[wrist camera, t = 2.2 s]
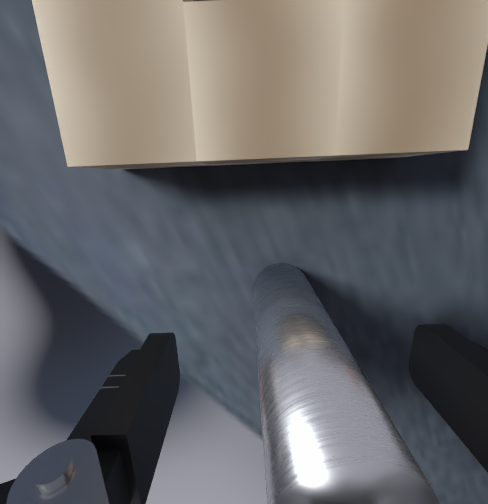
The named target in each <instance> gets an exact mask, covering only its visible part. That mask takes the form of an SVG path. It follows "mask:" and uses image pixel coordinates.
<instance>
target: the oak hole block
mask: <svg viewBox="0 0 488 504" xmlns="http://www.w3.org/2000/svg"><path fill="white" fill-rule="evenodd" d="M32 3H33V8H34V12H35V17H36V21H37V26H38V31H39V35H40V40H41V45H42V49H43V54H44V59H45V63H46V68H47V73H48V77H49V82H50V86H51V91H52V96H53V100H54V105H55V110H56V114H57V119H58V124H59V128H60V133H61V138H62V142H63V147H64V151H65V156H66V161H67V165H68V167H82V168H104V169H143V168H167V167H190V166H214V165H238V164H262V163H286V162H309V161H333V160H357V159H381V158H401V157H410V156H418V155H427V154H436V153H445V152H454V151H463V150H468V148H469V142H470V137H471V131H472V126H473V121H474V115H475V110H476V104H477V99H478V93H479V88H480V83H481V77H482V72H483V66H484V61H485V56H486V50H487V45H488V0H211V1H200V0H32Z"/></svg>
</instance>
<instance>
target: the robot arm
mask: <svg viewBox="0 0 488 504" xmlns="http://www.w3.org/2000/svg"><path fill="white" fill-rule="evenodd" d="M409 371H410V375H411V378H412V380H413V382H414V383H415V385H416V386H417V387H418V389H419V390H420V391H421V392H422V393H423V395H424V396H425V397H426V398H427V400H428V401H429V402H430V403H431V404H432V406H433V407H434V408H435V409H436V410H437V412H438V413H439V414H440V415H441V417H442V418H443V419H444V420H445V421H446V423H447V424H448V425H449V426H450V427H451V429H452V430H453V431H454V432H455V433H456V435H457V436H458V437H459V438H460V440H461V441H462V442H463V443H464V444H465V446H466V447H467V448H468V449H469V450H470V452H471V453H472V454H473V455H474V457H475V458H476V459H477V460H478V461H479V463H480V464H481V465H482V466H483V467H484V469H485V470H486V471H487V472H488V350H487V349H485V348H483V347H481V346H479V345H477V344H475V343H473V342H471V341H469V340H468V339H466V338H465V337H463V336H462V335H461V334H459V333H458V332H457V331H455V330H454V329H452V328H451V327H450V326H448V325H446V324H424V325H418V326H417V327H416V329H415V332H414V338H413V344H412V349H411V355H410V361H409ZM179 382H180V370H179V362H178V354H177V346H176V338H175V335H174V333H151V334H149V335H148V337H147V339H146V340H145V342H144V344H143V345H142V347H141V349H140V350H132V351H131V352H129V353H128V354H127V355H126V356H124V357H123V358H122V359H121V360H120V361H118V363H117V364H116V366H115V367H114V369H113V371H112V372H111V374H110V377H109V378H107V380H106V381H105V383H104V384H103V386H102V389H100V390H99V392H98V393H97V395H96V396H95V398H94V399H93V401H92V402H91V404H90V405H89V407H88V408H87V410H86V411H85V413H84V414H83V416H82V418H81V419H80V421H79V422H78V424H77V425H76V427H75V428H74V430H73V431H72V433H71V434H70V436H69V437H68V439H67V440H66V441H64V442H61V443H58V444H56V445H54V446H52V447H50V448H48V449H47V450H45V451H44V452H42V453H41V454H40V455H38V456H37V457H36V458H34V459H33V460H32V461H31V462H30V463H29V464H28V465H27V466H26V467H25V468H24V469H23V470H22V472H21V473H20V474H19V475H18V477H17V478H16V479H13V480H11V481H8V482H5V483H2V484H0V504H145V503H146V500H147V496H148V493H149V490H150V486H151V483H152V480H153V476H154V472H155V469H156V466H157V462H158V459H159V456H160V452H161V449H162V445H163V442H164V438H165V435H166V431H167V428H168V425H169V421H170V418H171V414H172V411H173V407H174V404H175V401H176V397H177V394H178V390H179Z"/></svg>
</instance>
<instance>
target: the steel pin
mask: <svg viewBox="0 0 488 504" xmlns="http://www.w3.org/2000/svg"><path fill="white" fill-rule="evenodd" d="M253 300H254V315H255V330H256V344H257V359H258V374H259V389H260V403H261V418H262V433H263V447H264V462H265V477H266V492H267V504H440V502H439V500H438V498H437V496H436V494H435V493H434V491H433V489H432V488H431V486H430V484H429V483H428V481H427V479H426V478H425V476H424V474H423V473H422V471H421V469H420V468H419V466H418V464H417V462H416V461H415V459H414V457H413V456H412V454H411V452H410V451H409V449H408V447H407V446H406V444H405V442H404V441H403V439H402V437H401V436H400V434H399V432H398V431H397V429H396V427H395V426H394V424H393V422H392V421H391V419H390V417H389V416H388V414H387V412H386V411H385V409H384V407H383V406H382V404H381V402H380V400H379V399H378V397H377V395H376V394H375V392H374V390H373V389H372V387H371V385H370V384H369V382H368V380H367V379H366V377H365V375H364V374H363V372H362V370H361V369H360V367H359V365H358V364H357V362H356V360H355V359H354V357H353V355H352V354H351V352H350V350H349V349H348V347H347V345H346V343H345V342H344V340H343V338H342V337H341V335H340V333H339V332H338V330H337V328H336V327H335V325H334V323H333V322H332V320H331V318H330V317H329V315H328V313H327V312H326V310H325V308H324V307H323V305H322V303H321V302H320V300H319V298H318V297H317V295H316V293H315V292H314V290H313V288H312V287H311V285H310V283H309V281H308V280H307V278H306V276H305V275H304V274H303V272H302V271H301V270H299V269H298V268H297V267H295V266H293V265H290V264H284V263H280V264H274V265H271V266H268V267H266V268H265V269H263V270H262V271H261V272H260V273H259V274H258V276H257V277H256V279H255V281H254V285H253Z"/></svg>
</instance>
